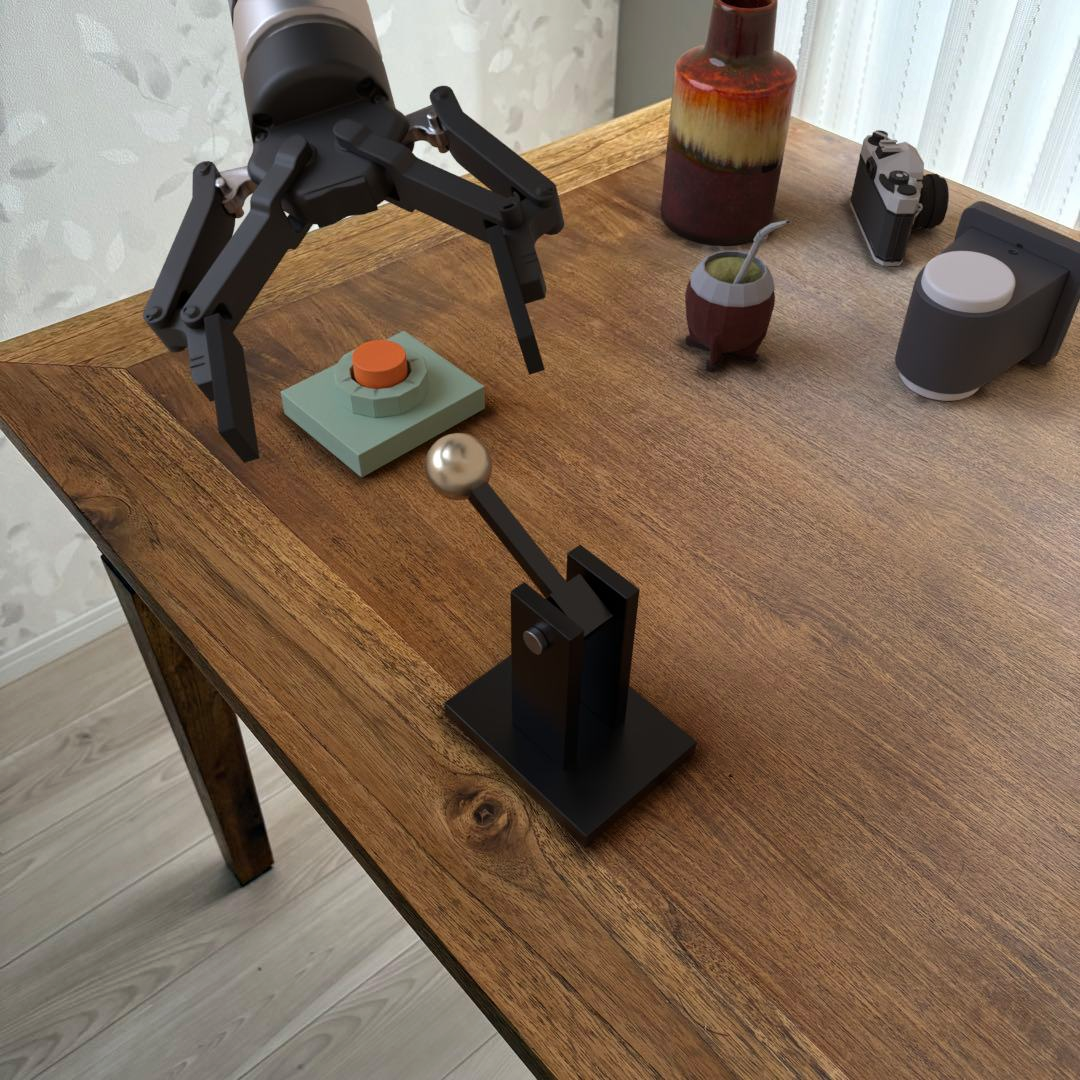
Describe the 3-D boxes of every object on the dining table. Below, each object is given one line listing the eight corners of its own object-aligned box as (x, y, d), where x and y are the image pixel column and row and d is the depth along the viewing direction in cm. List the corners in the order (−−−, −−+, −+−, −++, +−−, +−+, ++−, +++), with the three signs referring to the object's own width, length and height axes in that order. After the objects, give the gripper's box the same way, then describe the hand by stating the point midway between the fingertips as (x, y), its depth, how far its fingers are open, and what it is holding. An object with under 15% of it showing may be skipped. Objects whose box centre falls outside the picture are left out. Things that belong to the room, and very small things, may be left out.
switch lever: (405, 472, 60) (419, 439, 57) (456, 442, 62) (472, 409, 59) (555, 663, 58) (577, 640, 55) (603, 628, 60) (627, 604, 57)
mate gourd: (695, 319, 96) (717, 154, 85) (784, 342, 94) (817, 176, 83) (665, 365, 91) (684, 197, 80) (757, 391, 89) (789, 222, 78)
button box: (361, 478, 81) (355, 436, 78) (284, 414, 86) (276, 372, 83) (485, 408, 87) (484, 367, 84) (406, 352, 92) (402, 311, 89)
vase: (760, 188, 112) (795, -26, 98) (781, 245, 105) (823, 21, 90) (653, 190, 112) (673, -25, 97) (668, 247, 104) (691, 23, 90)
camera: (957, 267, 102) (985, 173, 96) (874, 269, 102) (897, 173, 96) (912, 206, 112) (934, 117, 106) (836, 207, 111) (854, 118, 106)
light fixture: (854, 371, 92) (880, 258, 84) (946, 304, 98) (979, 192, 90) (969, 435, 86) (1009, 320, 78) (1059, 359, 92) (1105, 246, 84)
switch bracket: (444, 715, 67) (432, 570, 57) (553, 636, 71) (557, 490, 62) (585, 849, 60) (596, 710, 51) (694, 754, 65) (723, 610, 56)
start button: (375, 397, 82) (373, 378, 81) (343, 372, 84) (341, 354, 83) (418, 375, 84) (416, 356, 83) (386, 351, 86) (384, 333, 85)
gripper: (551, 62, 61) (661, 365, 52) (128, 199, 63) (159, 519, 53) (527, -60, 55) (648, 261, 45) (53, 95, 56) (74, 441, 46)
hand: (385, 401), depth 49 cm, fingers open, 13 cm apart
